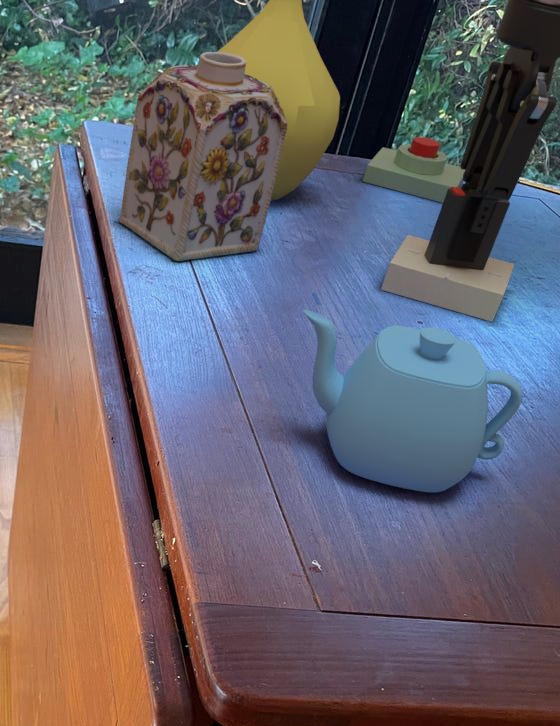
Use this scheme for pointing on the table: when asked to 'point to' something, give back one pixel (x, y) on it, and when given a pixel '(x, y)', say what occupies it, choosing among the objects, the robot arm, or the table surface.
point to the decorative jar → (203, 159)
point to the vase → (291, 86)
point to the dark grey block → (449, 225)
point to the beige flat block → (447, 281)
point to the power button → (424, 147)
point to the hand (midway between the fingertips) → (456, 253)
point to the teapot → (410, 406)
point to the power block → (413, 173)
